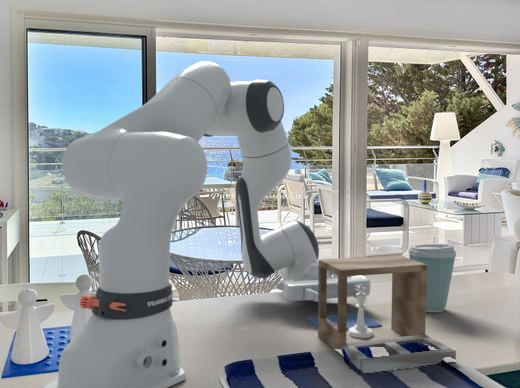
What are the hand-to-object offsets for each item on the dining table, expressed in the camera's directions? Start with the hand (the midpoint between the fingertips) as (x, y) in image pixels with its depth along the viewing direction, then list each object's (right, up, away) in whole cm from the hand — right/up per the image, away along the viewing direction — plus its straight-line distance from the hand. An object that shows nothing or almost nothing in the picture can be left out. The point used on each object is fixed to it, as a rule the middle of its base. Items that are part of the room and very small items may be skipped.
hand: (340, 296), depth 115 cm
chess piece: (+3, -6, -8) cm, 10 cm away
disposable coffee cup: (+22, -5, +9) cm, 24 cm away
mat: (+1, -5, -1) cm, 5 cm away
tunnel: (+5, -7, -16) cm, 18 cm away
